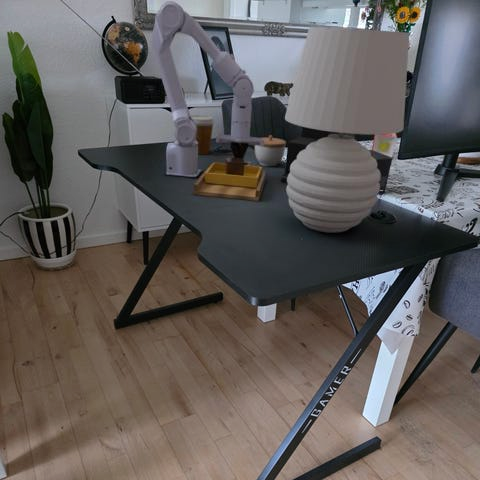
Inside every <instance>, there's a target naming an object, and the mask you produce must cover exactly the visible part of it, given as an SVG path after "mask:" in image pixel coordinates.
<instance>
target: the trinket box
mask: <svg viewBox="0 0 480 480" xmlns="http://www.w3.org/2000/svg"><path fill="white" fill-rule="evenodd" d="M262 138H263V139H264V146H258V145H254V155H255V158H256V160H257V162H259V165H261V166H265V167H276V166H278V164H279V163H280V162H281V161H282V160H283V158H284V155H285V152H286V145H287V141H286V140H284V139H281V138H275V137H273V135H271V134H270V135H268V137H262Z"/></svg>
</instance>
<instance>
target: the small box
mask: <svg viewBox="0 0 480 480" xmlns="http://www.w3.org/2000/svg"><path fill="white" fill-rule="evenodd" d="M368 150H369V151H370V153H371V156H372V157H373V158H374V159H376V161H377V169H379V171H380V174H381V177H380V181H379V184H380V190H383V191H380V190H379V193H378V194H377V195H381V194H386V189H387V184H388V180H389V175H390V170H391V166H392V163H393V159H394V158H393V157H389V156H387V155H384V154H381V153H379V152H376V151H374V150H372V149H368Z"/></svg>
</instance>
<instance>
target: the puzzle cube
mask: <svg viewBox="0 0 480 480" xmlns="http://www.w3.org/2000/svg"><path fill="white" fill-rule="evenodd" d="M397 139H398V136H397V133H392V134H374V136H373V140H372V141H373V142H372V146H371V150H374V151H376V152H379V153H381V154H384V155H387V156H389V157H392V158H393V156H394V153H395V147H396V143H397Z"/></svg>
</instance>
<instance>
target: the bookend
mask: <svg viewBox="0 0 480 480" xmlns="http://www.w3.org/2000/svg"><path fill="white" fill-rule="evenodd" d="M330 134H339V132H330V131H323V130H317V129H311V128H306V127H302V126H301V133H300V136H299V137H296V138H294V139H291V140H289V141H288V142H287V149H286V157H285V169H284V173H283V174H282V176H281V178H280V179H281V180H280V181H281V182H285V183H287V177H288V174H289V173H290V166H291V164H292V162H293V161H294V160H296V159H297V155H298V154H299V152H300V151H302V150H304V149H306V147H307V146H308V145H309V144H310V143H312V142H316V141H318V140H319V139H321V138H325V137H328V135H330ZM343 135H346V133H343Z"/></svg>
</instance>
